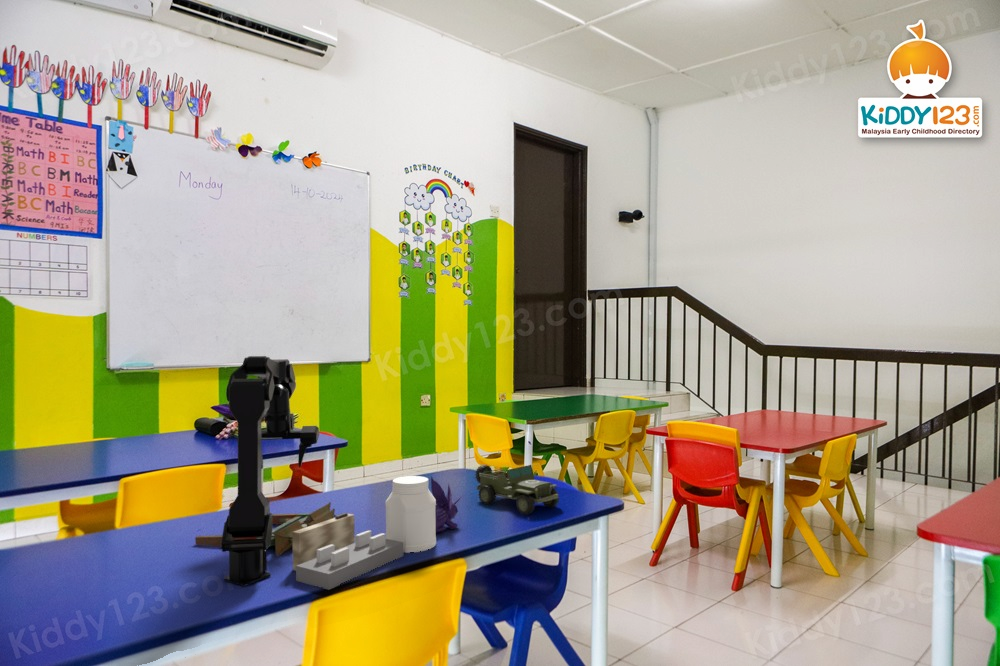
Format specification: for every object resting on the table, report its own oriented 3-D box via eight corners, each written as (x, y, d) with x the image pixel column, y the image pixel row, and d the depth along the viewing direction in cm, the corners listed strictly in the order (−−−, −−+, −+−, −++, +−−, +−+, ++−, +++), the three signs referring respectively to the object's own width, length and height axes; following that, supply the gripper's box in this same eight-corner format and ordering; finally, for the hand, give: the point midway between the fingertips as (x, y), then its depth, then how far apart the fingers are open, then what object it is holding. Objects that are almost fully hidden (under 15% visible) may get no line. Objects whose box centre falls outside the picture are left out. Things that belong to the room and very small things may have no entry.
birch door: (299, 572, 136) (299, 530, 136) (292, 570, 137) (292, 528, 137) (354, 550, 150) (354, 512, 150) (348, 548, 151) (347, 510, 151)
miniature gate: (250, 504, 177) (355, 501, 171) (252, 525, 176) (357, 522, 170) (183, 535, 150) (304, 532, 144) (185, 559, 150) (306, 558, 144)
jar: (443, 544, 153) (443, 479, 153) (413, 555, 145) (413, 487, 145) (408, 535, 160) (408, 473, 160) (378, 545, 152) (377, 480, 152)
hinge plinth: (329, 589, 126) (328, 560, 126) (296, 580, 131) (295, 553, 131) (403, 556, 145) (403, 530, 145) (372, 549, 149) (372, 525, 149)
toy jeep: (533, 517, 175) (533, 476, 175) (470, 501, 192) (469, 463, 192) (563, 509, 183) (562, 469, 183) (499, 494, 201) (499, 457, 201)
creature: (476, 524, 168) (476, 476, 168) (419, 541, 155) (419, 488, 155) (453, 518, 174) (453, 471, 174) (397, 533, 161) (396, 482, 161)
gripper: (320, 397, 171) (323, 453, 175) (245, 398, 169) (249, 455, 172) (314, 412, 161) (317, 471, 164) (234, 414, 158) (239, 474, 162)
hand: (281, 467), depth 166 cm, fingers open, 9 cm apart
